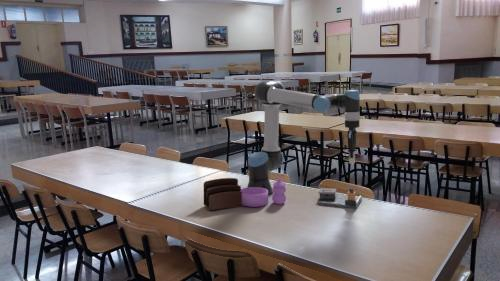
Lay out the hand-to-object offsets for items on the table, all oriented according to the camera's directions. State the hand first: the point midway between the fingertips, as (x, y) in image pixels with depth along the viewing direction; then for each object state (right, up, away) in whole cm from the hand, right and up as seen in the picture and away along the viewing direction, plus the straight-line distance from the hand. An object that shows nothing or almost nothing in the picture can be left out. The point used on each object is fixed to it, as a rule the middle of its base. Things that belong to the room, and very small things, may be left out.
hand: (352, 163), depth 218 cm
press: (-6, -21, 0) cm, 22 cm away
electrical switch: (-13, -20, +2) cm, 24 cm away
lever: (-2, -20, -7) cm, 22 cm away
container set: (-48, -22, +4) cm, 53 cm away
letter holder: (-69, -23, +2) cm, 73 cm away
